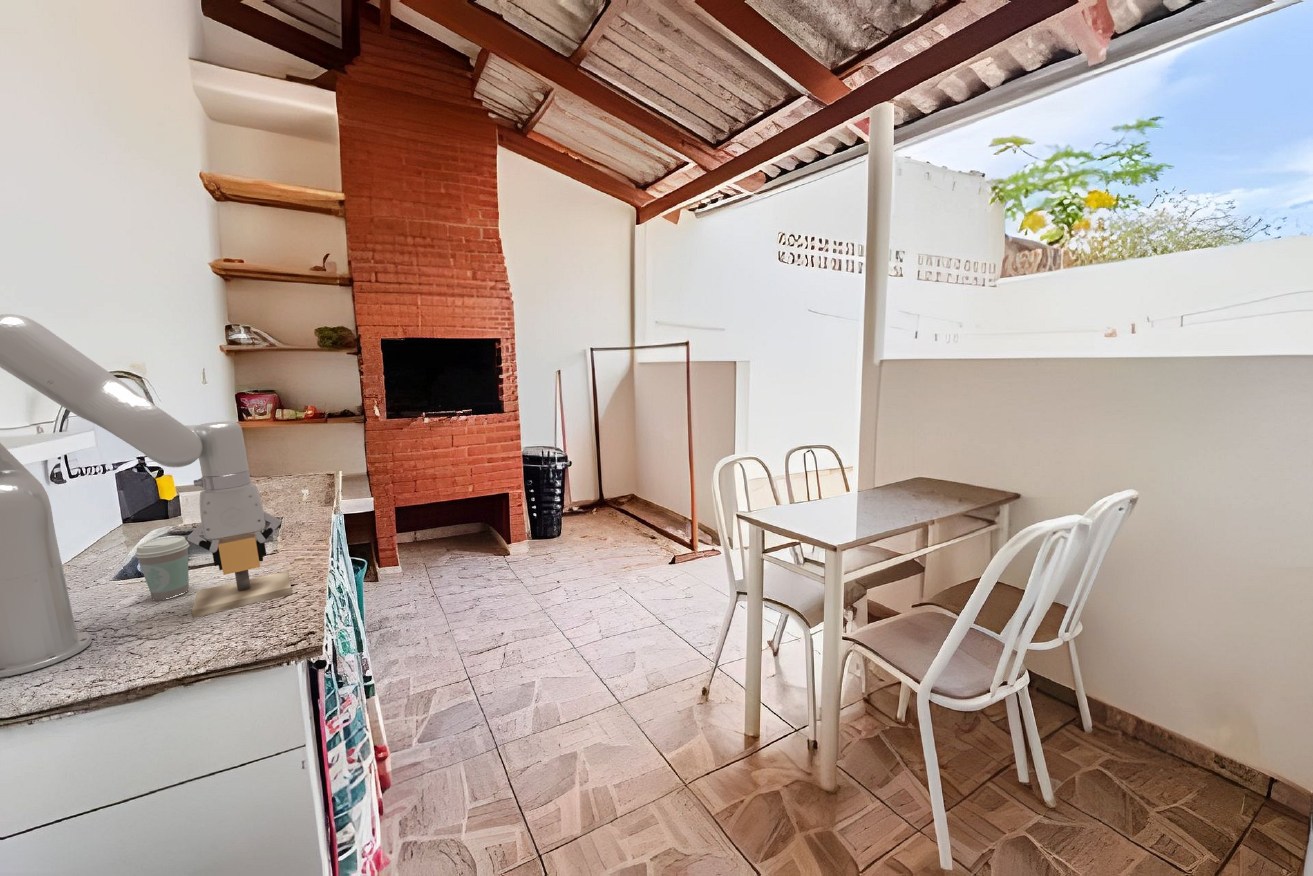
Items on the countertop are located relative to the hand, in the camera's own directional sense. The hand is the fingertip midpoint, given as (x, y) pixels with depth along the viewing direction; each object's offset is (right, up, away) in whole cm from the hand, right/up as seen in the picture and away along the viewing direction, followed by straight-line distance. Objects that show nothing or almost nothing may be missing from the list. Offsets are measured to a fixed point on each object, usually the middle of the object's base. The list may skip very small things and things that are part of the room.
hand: (241, 563), depth 111 cm
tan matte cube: (0, -1, 0) cm, 1 cm away
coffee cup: (-18, -8, +3) cm, 19 cm away
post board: (0, -7, +1) cm, 7 cm away
